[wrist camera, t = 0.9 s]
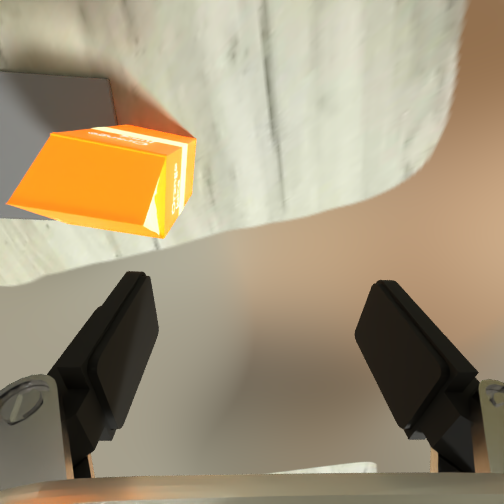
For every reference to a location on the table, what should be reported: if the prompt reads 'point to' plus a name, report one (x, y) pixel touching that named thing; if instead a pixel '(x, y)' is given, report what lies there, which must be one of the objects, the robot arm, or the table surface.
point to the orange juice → (111, 179)
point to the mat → (43, 122)
